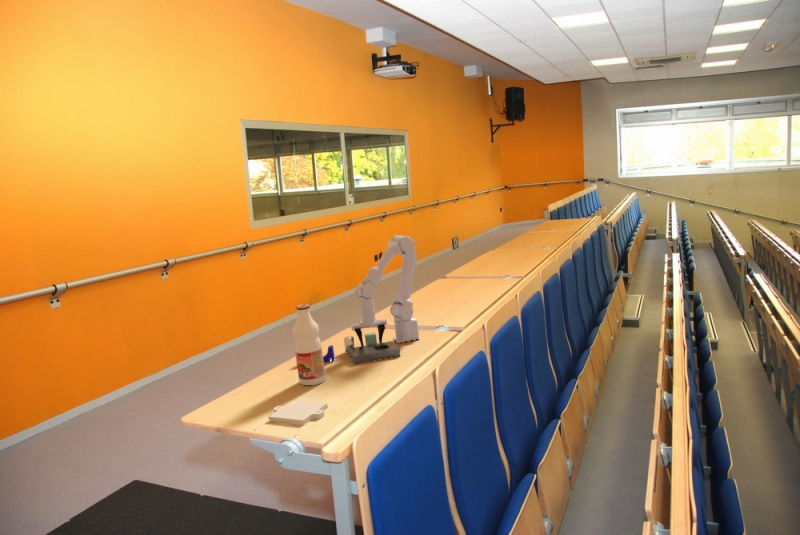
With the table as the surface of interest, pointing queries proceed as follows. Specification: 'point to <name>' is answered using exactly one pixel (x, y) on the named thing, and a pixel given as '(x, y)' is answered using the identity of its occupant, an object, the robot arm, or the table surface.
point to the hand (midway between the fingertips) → (371, 344)
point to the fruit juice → (308, 348)
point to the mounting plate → (298, 412)
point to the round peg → (349, 343)
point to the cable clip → (329, 354)
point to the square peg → (370, 338)
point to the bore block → (374, 352)
